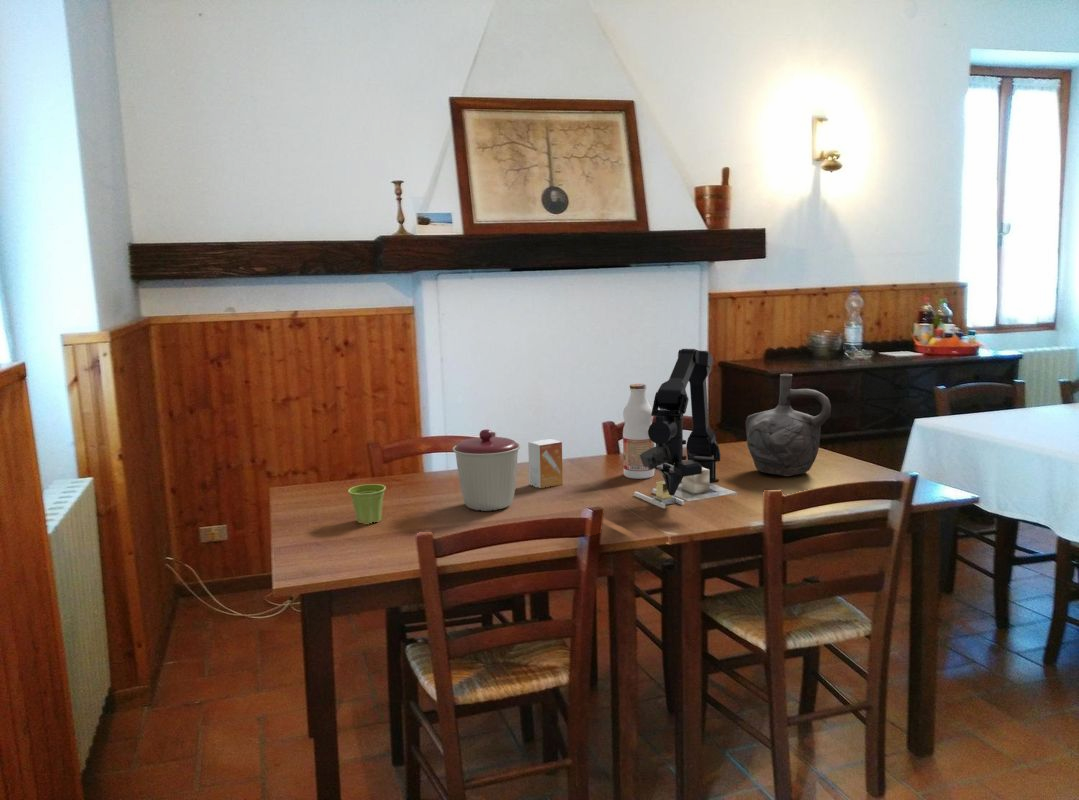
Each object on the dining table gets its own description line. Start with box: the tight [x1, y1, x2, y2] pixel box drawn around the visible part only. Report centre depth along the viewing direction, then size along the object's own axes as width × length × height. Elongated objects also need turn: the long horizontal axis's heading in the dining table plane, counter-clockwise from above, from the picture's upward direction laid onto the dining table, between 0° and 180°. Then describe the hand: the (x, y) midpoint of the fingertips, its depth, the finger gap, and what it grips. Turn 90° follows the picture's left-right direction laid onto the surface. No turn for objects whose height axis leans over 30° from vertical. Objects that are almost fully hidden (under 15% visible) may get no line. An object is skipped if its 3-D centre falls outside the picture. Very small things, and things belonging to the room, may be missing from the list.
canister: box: [452, 429, 521, 512], centre depth 221 cm, size 18×18×21 cm
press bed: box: [654, 482, 738, 502], centre depth 228 cm, size 16×16×1 cm
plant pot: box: [347, 483, 387, 524], centre depth 211 cm, size 9×9×9 cm
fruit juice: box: [622, 383, 655, 480], centre depth 249 cm, size 9×9×28 cm
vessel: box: [745, 373, 832, 477], centre depth 246 cm, size 24×22×30 cm
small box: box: [527, 438, 564, 489], centre depth 242 cm, size 8×6×13 cm
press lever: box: [652, 480, 677, 506], centre depth 217 cm, size 4×4×6 cm
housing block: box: [681, 467, 711, 493], centre depth 228 cm, size 5×6×6 cm
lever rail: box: [634, 488, 685, 509], centre depth 220 cm, size 7×14×2 cm, turn 25°
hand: (671, 495), depth 214 cm, fingers closed
